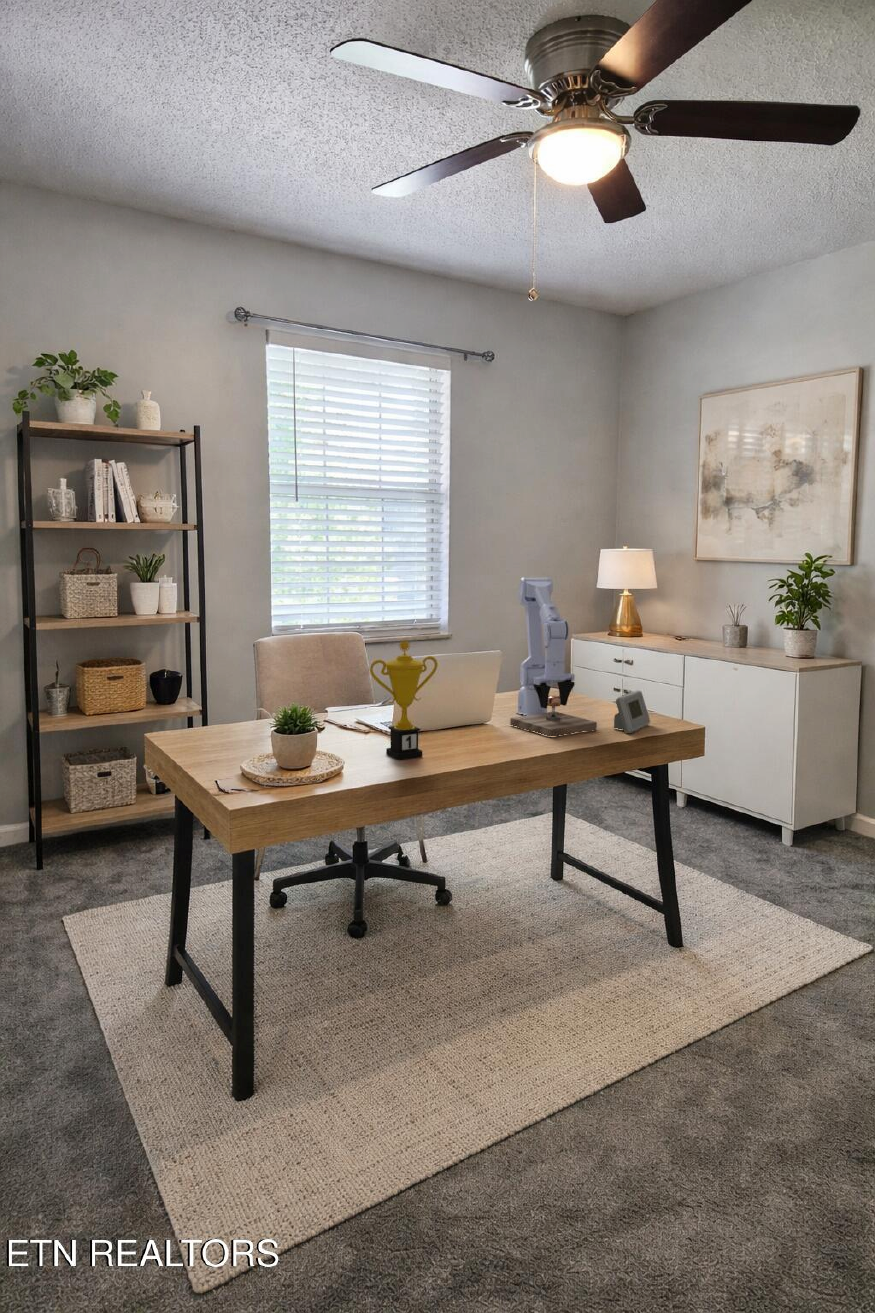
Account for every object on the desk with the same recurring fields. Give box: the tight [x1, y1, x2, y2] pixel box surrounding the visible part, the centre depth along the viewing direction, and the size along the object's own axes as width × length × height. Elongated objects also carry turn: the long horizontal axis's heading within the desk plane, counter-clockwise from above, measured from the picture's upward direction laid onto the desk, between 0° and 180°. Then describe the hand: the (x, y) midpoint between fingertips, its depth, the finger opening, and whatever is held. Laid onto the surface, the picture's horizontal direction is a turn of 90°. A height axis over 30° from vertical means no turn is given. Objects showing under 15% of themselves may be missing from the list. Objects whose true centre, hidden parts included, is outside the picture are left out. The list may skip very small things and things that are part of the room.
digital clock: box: [613, 689, 651, 734], centre depth 240 cm, size 16×9×11 cm, turn 133°
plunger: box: [547, 695, 561, 717], centre depth 239 cm, size 4×4×6 cm
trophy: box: [369, 639, 438, 761], centre depth 205 cm, size 19×10×30 cm, turn 120°
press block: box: [509, 711, 598, 736], centre depth 239 cm, size 18×18×4 cm
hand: (553, 706), depth 239 cm, fingers open, 7 cm apart
